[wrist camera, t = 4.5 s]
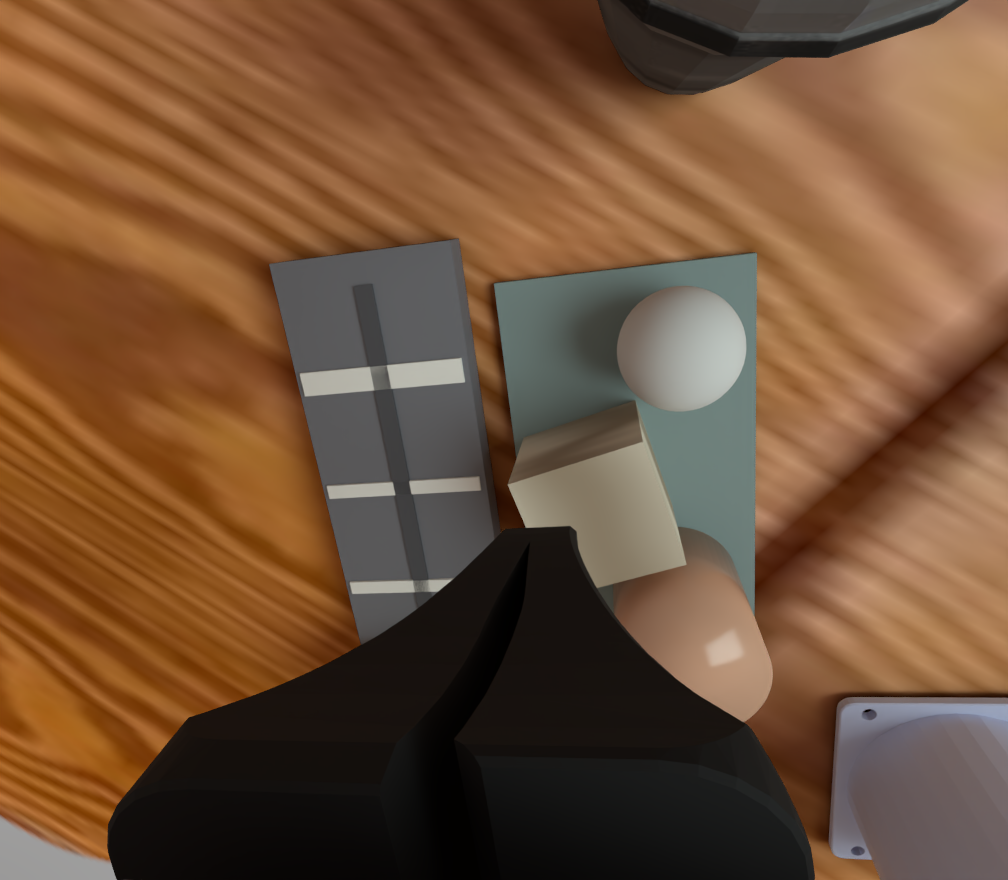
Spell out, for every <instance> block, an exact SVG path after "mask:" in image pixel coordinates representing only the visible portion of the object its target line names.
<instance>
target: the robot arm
mask: <svg viewBox="0 0 1008 880" xmlns="http://www.w3.org/2000/svg"><path fill="white" fill-rule="evenodd" d="M867 709H872V710H870V711H869V712H863V711H865V710H867ZM829 846H830V848H831V851H832V853H833V854H834V855H835V856H837V857H840V858H848V859H869V860H872V861H873V863H874V865H875V868H876V870H877V873H878V875H879V877H880V880H1008V698H954V697H849V698H845V699H843V700H841V701H840V702H839V703H838V706H837V713H836V729H835V745H834V762H833V778H832V794H831V811H830V827H829ZM107 847H108V853H109V857H110V860H111V863H112V867H113V870H114V873H115V876H116V878H117V880H815V874H814V866H813V859H812V853H811V847H810V844H809V841H808V838H807V836H806V833H805V830H804V827H803V825H802V823H801V820H800V818H799V816H798V814H797V811H796V809H795V807H794V805H793V803H792V801H791V798H790V796H789V794H788V792H787V790H786V788H785V786H784V784H783V782H782V780H781V779H780V777H779V775H778V773H777V771H776V769H775V768H774V766H773V764H772V762H771V760H770V759H769V757H768V755H767V754H766V752H765V750H764V749H763V747H762V745H761V744H760V742H759V740H758V739H757V737H756V735H755V734H754V732H753V731H752V729H751V728H750V727H749V726H748V725H747V724H745V723H744V722H742V721H740V720H739V719H737V718H735V717H734V716H732V715H730V714H729V713H727V712H725V711H724V710H722V709H721V708H719V707H717V706H716V705H714V704H712V703H711V702H709V701H707V700H706V699H704V698H702V697H701V696H699V695H698V694H696V693H695V692H693V691H692V690H691V689H689V688H688V687H687V686H685V685H684V684H682V683H681V682H680V681H678V680H677V679H676V678H675V677H674V676H673V675H671V674H670V673H669V672H668V671H667V670H666V669H665V668H664V667H663V666H661V665H660V664H659V663H658V662H657V661H656V660H655V659H654V658H652V657H651V656H650V655H649V654H648V653H647V652H646V651H645V650H644V649H643V648H642V647H641V646H640V644H639V643H638V642H637V641H636V640H635V639H634V638H633V637H632V636H631V635H630V633H629V632H628V631H627V630H626V629H625V627H624V626H623V625H622V624H621V623H620V621H619V620H618V619H617V617H616V616H615V615H614V613H613V612H612V611H611V609H610V608H609V606H608V605H607V603H606V602H605V600H604V599H603V597H602V596H601V594H600V592H599V591H598V589H597V587H596V586H595V584H594V582H593V580H592V578H591V576H590V574H589V572H588V570H587V568H586V567H585V564H584V562H583V560H582V557H581V554H580V552H579V549H578V540H577V531H576V530H574V529H573V528H572V527H571V526H557V527H534V528H512V529H505V530H504V531H503V532H502V533H500V534H499V535H498V536H497V537H496V538H495V539H494V540H493V541H492V542H491V543H490V544H489V545H488V546H487V547H486V548H485V549H484V550H483V551H482V552H481V553H480V554H479V555H478V556H477V557H476V558H475V559H474V560H473V561H472V562H471V563H470V564H469V565H468V566H467V567H466V568H465V569H463V570H462V571H461V572H460V573H459V574H458V575H457V576H456V577H455V578H454V579H453V580H451V581H450V582H449V583H448V584H447V585H445V586H444V587H443V588H442V589H441V590H439V591H438V592H437V593H436V594H435V595H434V596H432V597H431V598H430V599H429V600H428V601H426V602H425V603H424V604H423V605H421V606H420V607H419V608H417V609H416V610H415V611H413V612H412V613H411V614H409V615H408V616H406V617H405V618H404V619H402V620H401V621H399V622H398V623H396V624H395V625H393V626H392V627H390V628H389V629H387V630H386V631H384V632H383V633H381V634H379V635H378V636H376V637H375V638H373V639H371V640H369V641H367V642H366V643H364V644H362V645H360V646H358V647H357V648H355V649H353V650H351V651H349V652H348V653H346V654H344V655H342V656H340V657H339V658H337V659H335V660H333V661H331V662H329V663H327V664H325V665H323V666H321V667H319V668H317V669H315V670H313V671H311V672H308V673H306V674H304V675H302V676H300V677H297V678H295V679H293V680H290V681H288V682H286V683H283V684H281V685H279V686H277V687H274V688H272V689H269V690H267V691H264V692H261V693H259V694H256V695H253V696H251V697H248V698H245V699H242V700H239V701H236V702H234V703H231V704H228V705H225V706H222V707H219V708H216V709H214V710H211V711H208V712H205V713H202V714H199V715H196V716H192V717H189V718H188V719H187V720H186V721H185V723H184V724H183V725H182V726H181V727H180V729H179V730H178V731H177V732H176V734H175V735H174V736H173V737H172V738H171V740H170V741H169V742H168V743H167V745H166V746H165V747H164V748H163V749H162V751H161V752H160V753H159V754H158V756H157V757H156V758H155V759H154V761H153V762H152V763H151V764H150V765H149V767H148V768H147V769H146V770H145V772H144V773H143V774H142V775H141V776H140V778H139V779H138V780H137V781H136V783H135V784H134V785H133V786H132V788H131V789H130V790H129V791H128V792H127V794H126V795H125V796H124V797H123V799H122V800H121V801H120V802H119V803H118V805H117V807H116V809H115V811H114V813H113V815H112V817H111V819H110V822H109V824H108V844H107Z"/></svg>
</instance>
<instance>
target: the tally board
mask: <svg viewBox="0 0 1008 880" xmlns="http://www.w3.org/2000/svg"><path fill="white" fill-rule="evenodd" d="M269 266H270V270H271V274H272V279H273V283H274V287H275V291H276V295H277V299H278V303H279V308H280V312H281V316H282V320H283V324H284V328H285V332H286V337H287V341H288V345H289V349H290V353H291V357H292V361H293V366H294V370H295V374H296V378H297V382H298V386H299V390H300V394H301V399H302V403H303V407H304V411H305V415H306V419H307V423H308V428H309V432H310V436H311V440H312V444H313V448H314V452H315V457H316V461H317V465H318V469H319V473H320V477H321V481H322V486H323V490H324V494H325V498H326V502H327V506H328V510H329V514H330V519H331V523H332V527H333V531H334V535H335V539H336V543H337V548H338V552H339V556H340V560H341V564H342V568H343V572H344V577H345V581H346V585H347V589H348V593H349V597H350V601H351V606H352V610H353V614H354V618H355V622H356V626H357V630H358V634H359V639H360V643H361V645H362V644H364V643H366V642H367V641H369V640H371V639H373V638H375V637H376V636H378V635H379V634H381V633H383V632H384V631H386V630H387V629H389V628H390V627H392V626H393V625H395V624H396V623H398V622H399V621H401V620H402V619H404V618H405V617H406V616H408V615H409V614H411V613H412V612H413V611H415V610H416V609H417V608H419V607H420V606H421V605H423V604H424V603H425V602H426V601H428V600H429V599H430V598H431V597H432V596H434V595H435V594H436V593H437V592H438V591H439V590H441V589H442V588H443V587H444V586H445V585H447V584H448V583H449V582H450V581H451V580H453V579H454V578H455V577H456V576H457V575H458V574H459V573H460V572H461V571H462V570H463V569H465V568H466V567H467V566H468V565H469V564H470V563H471V562H472V561H473V560H474V559H475V558H476V557H477V556H478V555H479V554H480V553H481V552H482V551H483V550H484V549H485V548H486V547H487V546H488V545H489V544H490V543H491V542H492V541H493V540H494V539H495V538H496V537H497V536H498V535H499V534H500V533H501V530H500V523H499V516H498V509H497V502H496V495H495V488H494V481H493V474H492V467H491V460H490V453H489V447H488V440H487V433H486V426H485V419H484V412H483V405H482V398H481V391H480V384H479V377H478V370H477V363H476V356H475V349H474V342H473V335H472V328H471V321H470V314H469V307H468V300H467V293H466V286H465V279H464V272H463V265H462V258H461V251H460V244H459V239H452V240H445V241H437V242H429V243H422V244H414V245H407V246H399V247H391V248H384V249H376V250H369V251H361V252H353V253H346V254H338V255H331V256H323V257H315V258H308V259H300V260H293V261H285V262H279V263H273V264H269Z"/></svg>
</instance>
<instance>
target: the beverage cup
mask: <svg viewBox="0 0 1008 880" xmlns="http://www.w3.org/2000/svg"><path fill="white" fill-rule="evenodd" d="M597 1H598V4H599V7H600V10H601V14H602V17H603V20H604V24H605V27H606V30H607V33H608V35H609V37H610V39H611V41H612V43H613V45H614V46H615V48H616V50H617V52H618V54H619V56H620V57H621V59H622V61H623V63H624V64H625V66H626V68H627V69H628V70H629V71H630V72H631V73H632V74H633V75H635V76H636V77H637V78H638V79H639V80H640V81H641V82H642V83H643V84H645V85H646V86H649V87H651V88H654V89H656V90H659V91H661V92H664V93H666V94H685V95H694V94H697V93H703V92H706V91H709V90H712V89H715V88H718V87H721V86H725V85H728V84H731V83H733V82H735V81H737V80H740V79H742V78H744V77H746V76H748V75H750V74H752V73H754V72H756V71H758V70H760V69H762V68H764V67H766V66H769V65H771V64H773V63H775V62H777V61H779V60H781V59H783V58H785V57H809V58H829V57H832V56H835V55H838V54H841V53H844V52H847V51H850V50H853V49H856V48H859V47H863V46H866V45H869V44H872V43H875V42H878V41H881V40H884V39H887V38H890V37H893V36H897V35H900V34H903V33H906V32H909V31H912V30H915V29H918V28H921V27H924V26H927V25H930V24H934V23H935V22H937V21H938V20H940V19H941V18H943V17H944V16H946V15H947V14H949V13H950V12H952V11H953V10H955V9H956V8H958V7H959V6H961V5H962V4H964V3H965V2H967V1H968V0H597Z"/></svg>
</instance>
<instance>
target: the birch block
mask: <svg viewBox="0 0 1008 880" xmlns="http://www.w3.org/2000/svg"><path fill="white" fill-rule="evenodd" d="M508 487H509V489H510V491H511V494H512V496H513V498H514V501H515V503H516V505H517V508H518V510H519V512H520V515H521V517H522V519H523V522H524V524H525V526H526V528H534V527H557V526H571V527H572V528H573V529H574V530H576V531H577V540H578V549H579V552H580V554H581V557H582V560H583V562H584V564H585V567H586V568H587V570H588V572H589V574H590V576H591V578H592V580H593V582H594V584H595V586H596V587H597V588H599V587H603V586H607V585H611V584H614V583H618V582H622V581H626V580H630V579H634V578H638V577H641V576H645V575H649V574H653V573H657V572H661V571H664V570H668V569H672V568H676V567H680V566H684V565H687V564H686V560H685V556H684V552H683V548H682V543H681V539H680V535H679V531H678V527H677V523H676V519H675V515H674V511H673V506H672V503H671V500H670V497H669V494H668V491H667V489H666V486H665V483H664V480H663V477H662V474H661V472H660V469H659V466H658V463H657V460H656V457H655V455H654V452H653V449H652V446H651V443H650V440H649V438H648V435H647V432H646V429H645V426H644V423H643V421H642V418H641V415H640V412H639V409H638V406H637V403H636V401H635V400H634V401H631V402H628V403H625V404H622V405H619V406H616V407H613V408H610V409H607V410H604V411H601V412H599V413H596V414H593V415H590V416H587V417H584V418H581V419H578V420H575V421H572V422H569V423H566V424H563V425H560V426H557V427H554V428H551V429H548V430H545V431H542V432H539V433H536V434H533V435H530V436H527V437H524V438H523V441H522V444H521V447H520V450H519V453H518V456H517V459H516V462H515V465H514V467H513V470H512V473H511V476H510V479H509V482H508Z"/></svg>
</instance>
